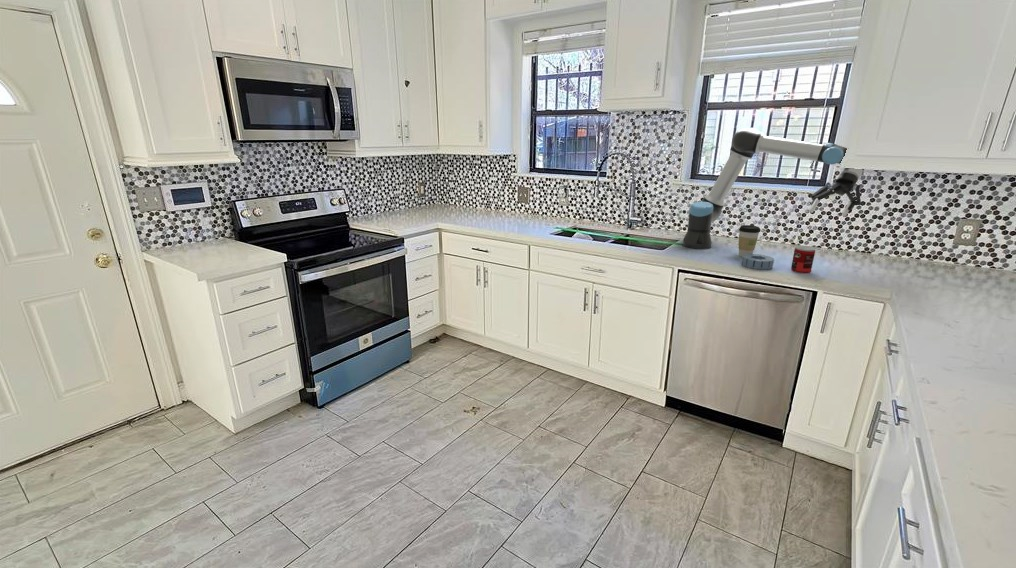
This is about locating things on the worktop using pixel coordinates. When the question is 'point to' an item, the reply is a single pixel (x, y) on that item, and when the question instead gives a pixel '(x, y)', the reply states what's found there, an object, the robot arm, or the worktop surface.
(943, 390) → the worktop surface
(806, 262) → the canned food
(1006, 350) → the worktop surface
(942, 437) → the worktop surface
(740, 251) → the coffee cup
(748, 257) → the grey notched ring
